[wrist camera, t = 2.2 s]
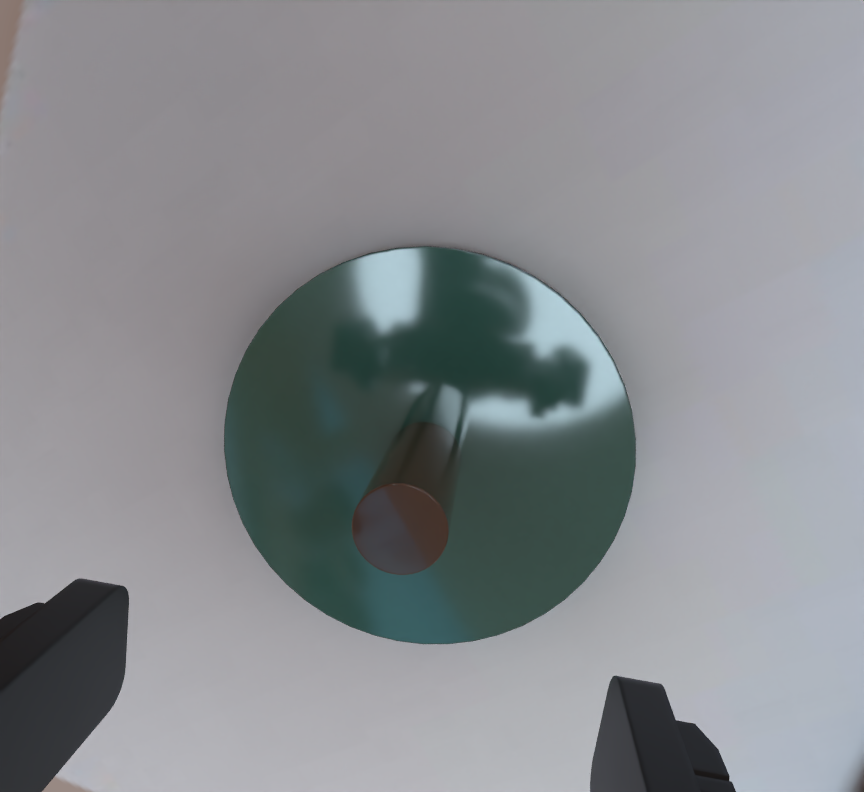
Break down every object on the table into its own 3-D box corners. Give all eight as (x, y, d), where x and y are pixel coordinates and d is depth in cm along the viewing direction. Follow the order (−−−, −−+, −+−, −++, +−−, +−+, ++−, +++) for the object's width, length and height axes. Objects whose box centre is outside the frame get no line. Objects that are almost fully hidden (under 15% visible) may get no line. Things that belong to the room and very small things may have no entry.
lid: (162, 472, 26) (38, 558, 19) (391, 156, 23) (343, 122, 16) (459, 697, 27) (444, 858, 20) (717, 421, 24) (806, 498, 17)
